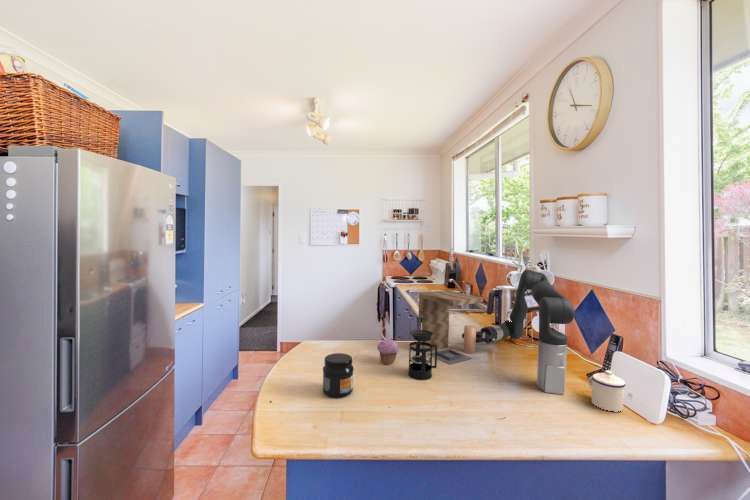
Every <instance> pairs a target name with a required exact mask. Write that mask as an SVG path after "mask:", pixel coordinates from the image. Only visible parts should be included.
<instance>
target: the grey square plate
mask: <svg viewBox="0 0 750 500" xmlns="http://www.w3.org/2000/svg"><path fill="white" fill-rule="evenodd" d="M427 355H428V356H430V352H428V353H427ZM432 358H434V359H435V351H434V352H432ZM472 359H473V358H472V357H470V356H468V355H466V354H463V353H461V352H458V351H456V350H454V349H451V348H448V349H444V350H437V360H439V361H441V362H443V363H446V364H448V365H455V364H458V363H460V362H461V363H462V362H465V361H468V360H472Z"/></svg>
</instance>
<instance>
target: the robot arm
mask: <svg viewBox="0 0 750 500" xmlns="http://www.w3.org/2000/svg"><path fill="white" fill-rule="evenodd" d="M525 290H529V291H531V296H532V298H533V300H534V301H535V303H537V304H538V344H537V345H538V348H537V367H536V368H537V369H536V387H537V388H538V389H540V390H541V391H542V392H544V393H549V394H556V395H564V394H565V392H566V379H567V378H566V375H567V355H568V353H567V352H568V349H567V348H568V337H567V334H565V333H563V332H560V331H558V330H555V329H554V328H552V327H551V324H555V325H556V324H557V325H568V324H571V323H572V322H573V321H574V319H575V317H576V316H575V315H576V312H575V307H574V305H573V303H572V302H571V301H570V299H569V298H567V297H566V296H564V295H562V294H561V293H560V292H559V291H558V290H557V289H556V287H554V286H553V285H552V284H551V283H550V281H549V279H548V276H546V275H545V274H544V273H542V272H539V271H534V270H531V269H530V270H529V269H524V270H523V271H522V272H521V275H520V278H519V282H518V286H517V290H516V294H515V300H514V303H513V306H512V308H511V311H510V313H509V319H507V320H504V321H503V322H502V323H500V324H496V325H490V326H484V327H482V328H481V329H480V330H476V344H479V343H483V344H484V343H486V344H492V343H494V342H497V341H499V340H504V339H507V338H508V337H510V338H511V339H512V340H519V339H520V338H521V337H522V336H523V333H524V324H525V322H524V321H525V319H526V316H527V314H528V310H529V309H528V308H529V307H528V303H527V300H526V297H525ZM509 320H511V321H512V322H511V321H510V322H509ZM461 339H464V332H463V333H462V335H461Z"/></svg>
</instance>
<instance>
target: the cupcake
mask: <svg viewBox="0 0 750 500" xmlns="http://www.w3.org/2000/svg"><path fill="white" fill-rule="evenodd" d="M377 350H378V352H379V358H380V362H381V363H382V364H385V365H388V366H389V365H391V364H393V363H394V362H395V361H396V357H397V354H398V352H399V345H398V342H396V341H395V340H394V339H382V340H381V341H380V342H379V343H378V345H377Z"/></svg>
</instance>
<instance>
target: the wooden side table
mask: <svg viewBox="0 0 750 500" xmlns="http://www.w3.org/2000/svg"><path fill="white" fill-rule="evenodd" d="M483 302H484V298H483V297H481V296H476V295H471V294H467V293H461V292H457V291H453V290H438V291H436V290H435V291H426V292H419V293H418V316H417V317H426V318H427V319H425V320H423V322H422V330H427V331H430V332H432V333H433V335H432V339H431V340H430V341H421V342H427V343H430V344H432V345H436V346H437V350H441V349H445V348H448V347H449V335H450V334H449V333H450V331H449V330H450V306H452V307H455V306H465V305H473V304H480V303H483ZM417 320H418V322H417V324H418V326H417V330H421V322H420V319H417ZM427 348H431V347H429V346H426V345H421V349H427ZM432 351H435V347H432ZM421 354H422V352H421Z"/></svg>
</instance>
